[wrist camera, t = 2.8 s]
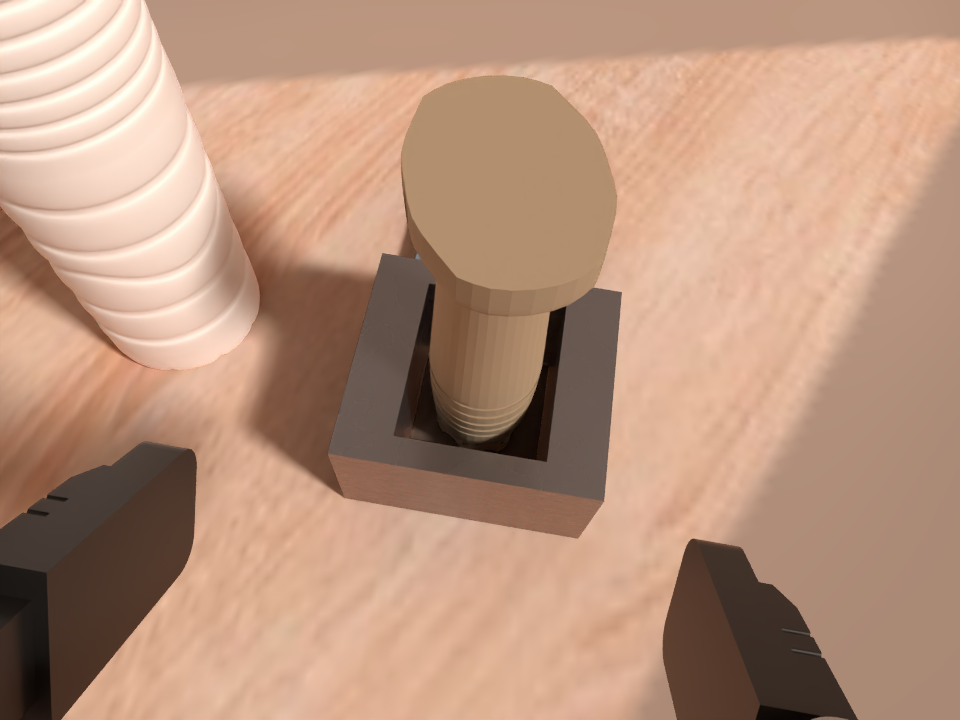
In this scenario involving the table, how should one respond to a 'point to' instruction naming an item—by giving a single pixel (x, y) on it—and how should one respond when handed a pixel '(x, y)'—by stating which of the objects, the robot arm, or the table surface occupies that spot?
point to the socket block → (466, 472)
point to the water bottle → (119, 181)
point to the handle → (501, 239)
